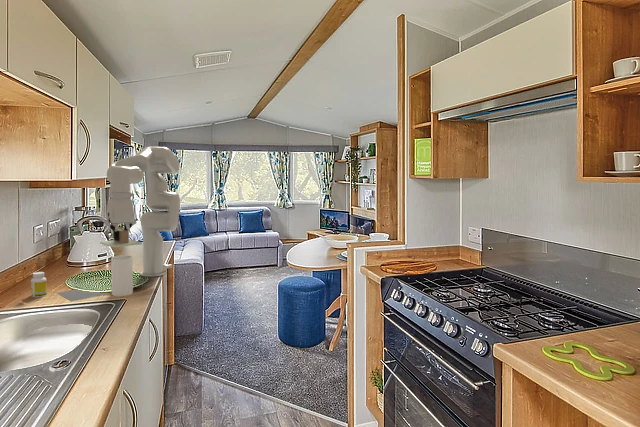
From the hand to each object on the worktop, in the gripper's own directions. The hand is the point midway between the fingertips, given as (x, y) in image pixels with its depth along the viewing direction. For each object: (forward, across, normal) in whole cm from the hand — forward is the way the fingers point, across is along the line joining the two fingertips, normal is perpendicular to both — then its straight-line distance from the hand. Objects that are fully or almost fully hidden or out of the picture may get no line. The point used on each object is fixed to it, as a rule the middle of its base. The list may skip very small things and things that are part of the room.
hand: (121, 239), depth 185 cm
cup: (+24, 0, 0) cm, 24 cm away
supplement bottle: (+24, +25, -20) cm, 40 cm away
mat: (+24, +11, -11) cm, 28 cm away
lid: (+2, 0, 0) cm, 2 cm away
